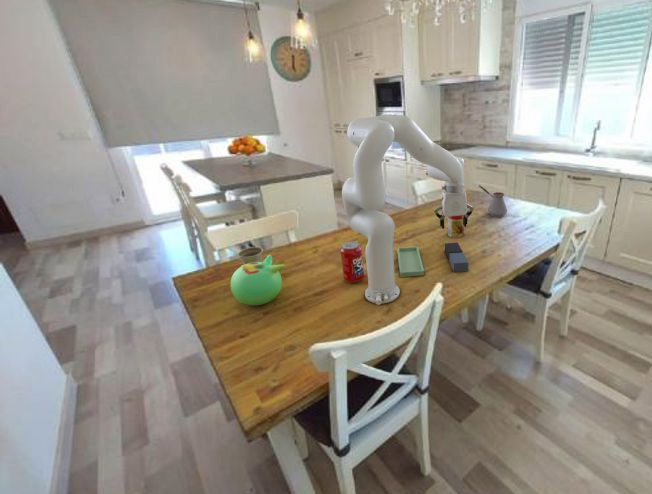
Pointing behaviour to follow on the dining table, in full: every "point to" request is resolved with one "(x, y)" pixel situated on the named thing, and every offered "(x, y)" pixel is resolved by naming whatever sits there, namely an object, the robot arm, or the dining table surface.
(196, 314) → the dining table surface
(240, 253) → the flower pot
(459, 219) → the canned food
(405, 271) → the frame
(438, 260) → the dining table surface
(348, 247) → the soda can
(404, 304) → the dining table surface
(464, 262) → the pad slate
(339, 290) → the dining table surface
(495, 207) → the coffee pot
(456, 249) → the pad charcoal
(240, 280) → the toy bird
